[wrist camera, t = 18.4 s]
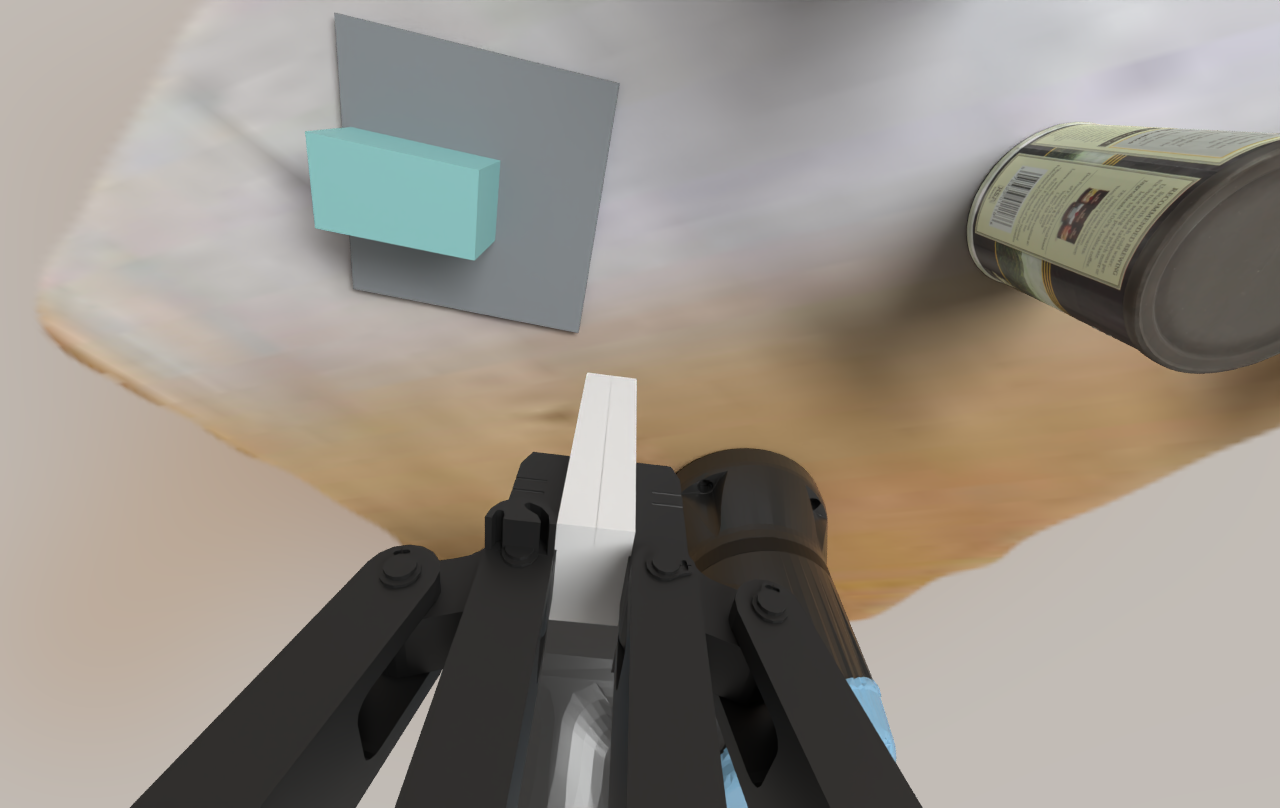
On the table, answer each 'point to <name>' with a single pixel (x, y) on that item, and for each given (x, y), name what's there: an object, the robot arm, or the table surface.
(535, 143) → the mat
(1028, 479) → the table surface
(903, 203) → the table surface
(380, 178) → the block
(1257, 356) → the coffee can
